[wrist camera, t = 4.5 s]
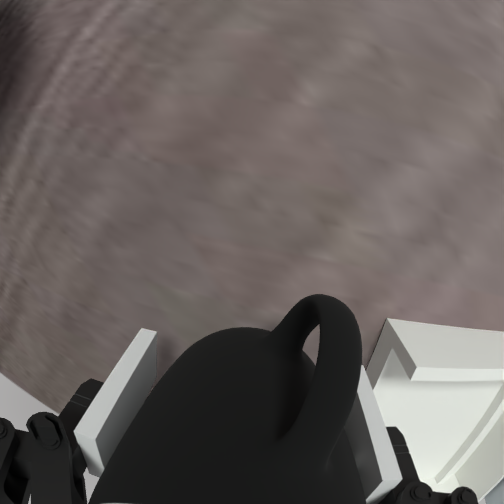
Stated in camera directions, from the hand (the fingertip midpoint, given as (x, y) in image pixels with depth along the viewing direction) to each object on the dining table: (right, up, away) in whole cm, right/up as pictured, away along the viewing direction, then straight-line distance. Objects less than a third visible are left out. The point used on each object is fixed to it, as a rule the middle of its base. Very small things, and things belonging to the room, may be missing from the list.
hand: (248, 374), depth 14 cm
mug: (+1, 0, +2) cm, 2 cm away
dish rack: (+17, -8, +6) cm, 20 cm away
